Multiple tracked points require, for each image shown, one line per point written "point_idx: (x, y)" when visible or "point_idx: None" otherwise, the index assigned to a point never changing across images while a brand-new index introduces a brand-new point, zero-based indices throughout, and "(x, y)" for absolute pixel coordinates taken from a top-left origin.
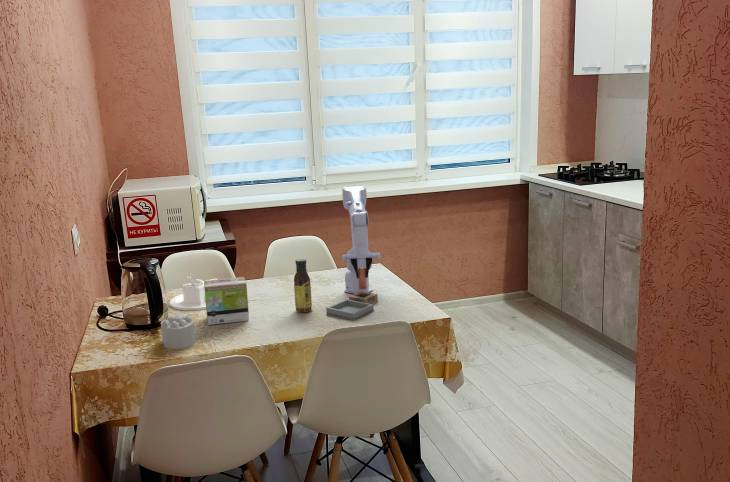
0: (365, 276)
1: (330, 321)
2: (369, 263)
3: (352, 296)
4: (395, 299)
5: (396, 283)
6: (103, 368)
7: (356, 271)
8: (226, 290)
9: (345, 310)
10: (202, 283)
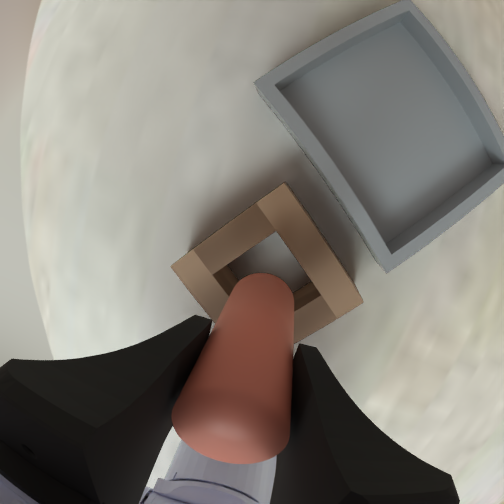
0: (215, 331)
1: (493, 65)
2: (55, 377)
3: (342, 290)
4: (99, 244)
5: None
6: None
7: (333, 389)
8: None
9: (420, 148)
10: None
